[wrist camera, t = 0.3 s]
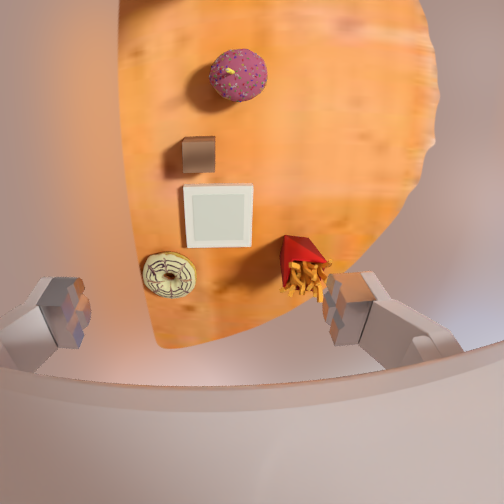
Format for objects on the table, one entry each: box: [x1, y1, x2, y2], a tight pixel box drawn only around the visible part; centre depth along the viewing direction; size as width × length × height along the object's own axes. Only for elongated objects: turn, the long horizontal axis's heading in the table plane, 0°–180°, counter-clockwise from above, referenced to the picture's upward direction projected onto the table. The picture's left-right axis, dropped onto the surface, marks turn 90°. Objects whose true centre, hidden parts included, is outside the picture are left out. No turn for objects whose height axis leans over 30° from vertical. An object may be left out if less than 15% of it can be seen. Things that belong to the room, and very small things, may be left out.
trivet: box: [183, 183, 253, 248], centre depth 58 cm, size 12×12×2 cm
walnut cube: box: [182, 136, 215, 173], centre depth 50 cm, size 5×5×5 cm
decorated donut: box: [143, 251, 196, 299], centre depth 62 cm, size 10×11×4 cm
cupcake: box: [209, 49, 267, 102], centre depth 41 cm, size 9×8×12 cm
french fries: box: [279, 235, 333, 302], centre depth 56 cm, size 9×8×15 cm
